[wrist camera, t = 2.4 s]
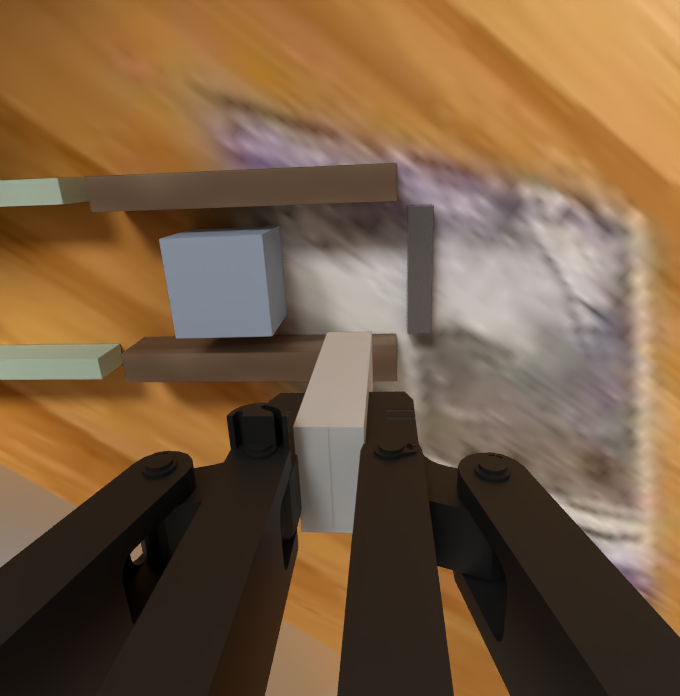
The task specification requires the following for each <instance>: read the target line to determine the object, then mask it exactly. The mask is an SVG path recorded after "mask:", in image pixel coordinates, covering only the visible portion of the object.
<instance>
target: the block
mask: <svg viewBox="0 0 680 696" xmlns="http://www.w3.org/2000/svg"><path fill="white" fill-rule="evenodd" d="M159 243H160V248H161V254H162V260H163V266H164V272H165V277H166V283H167V289H168V295H169V301H170V307H171V312H172V318H173V324H174V330H175V336H176V339H177V338H221V337H264V336H273V334H274V333H275V331H276V330H277V329H278V327H279V326H280V324H281V323H282V321H283V320H284V318H285V317H286V315H287V306H286V295H285V284H284V273H283V262H282V251H281V240H280V229H279V225H276V226H254V227H232V228H210V229H190V230H187V231H183V232H180V233H177V234H174V235H170V236H167V237H164V238H161V239H159Z"/></svg>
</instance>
